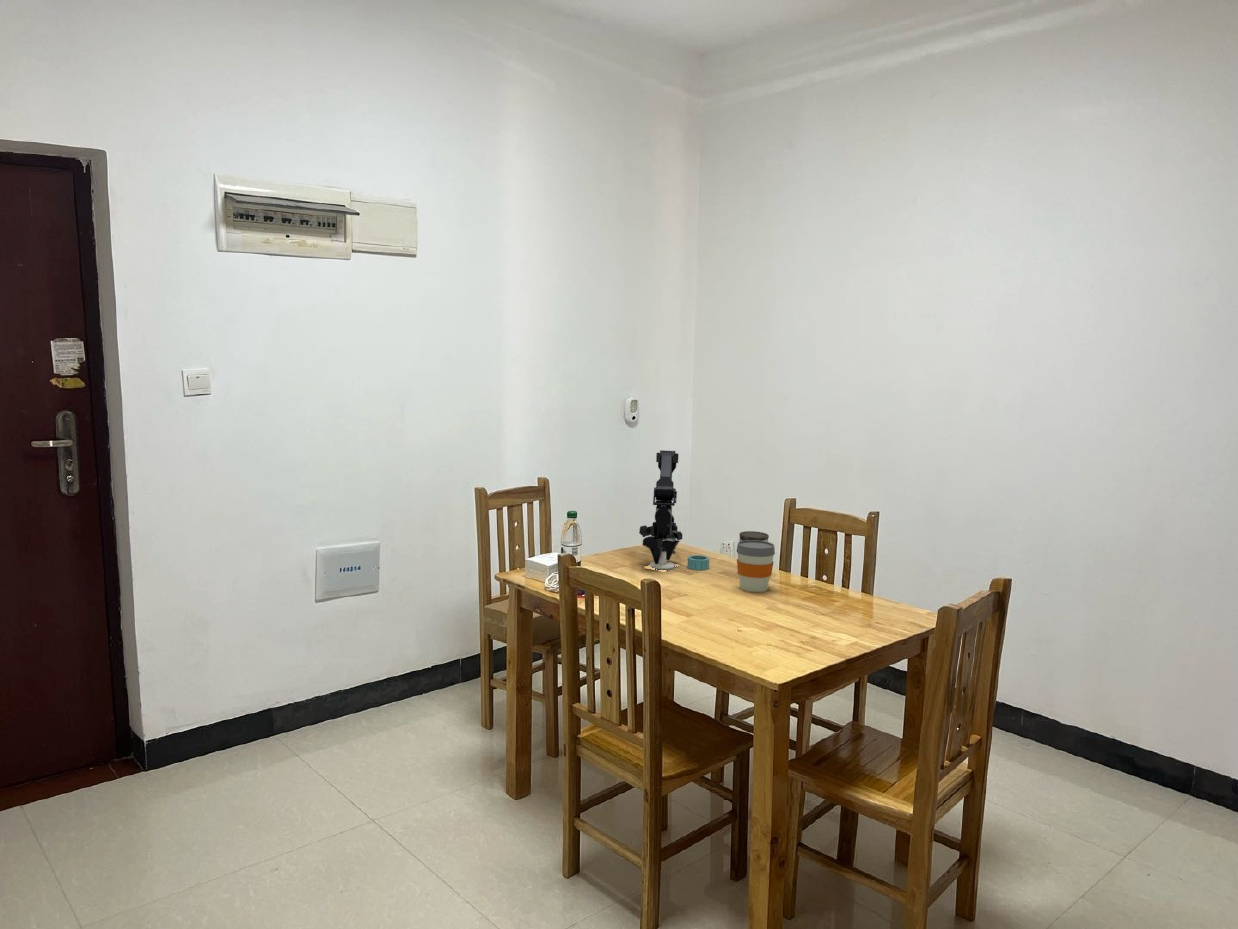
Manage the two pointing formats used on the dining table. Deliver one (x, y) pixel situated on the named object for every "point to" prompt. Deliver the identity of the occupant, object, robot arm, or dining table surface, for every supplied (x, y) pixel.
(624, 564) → the dining table surface
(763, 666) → the dining table surface
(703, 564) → the bowl
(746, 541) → the reusable coffee cup
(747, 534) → the coffee can
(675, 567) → the mat
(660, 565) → the lid
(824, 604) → the dining table surface
